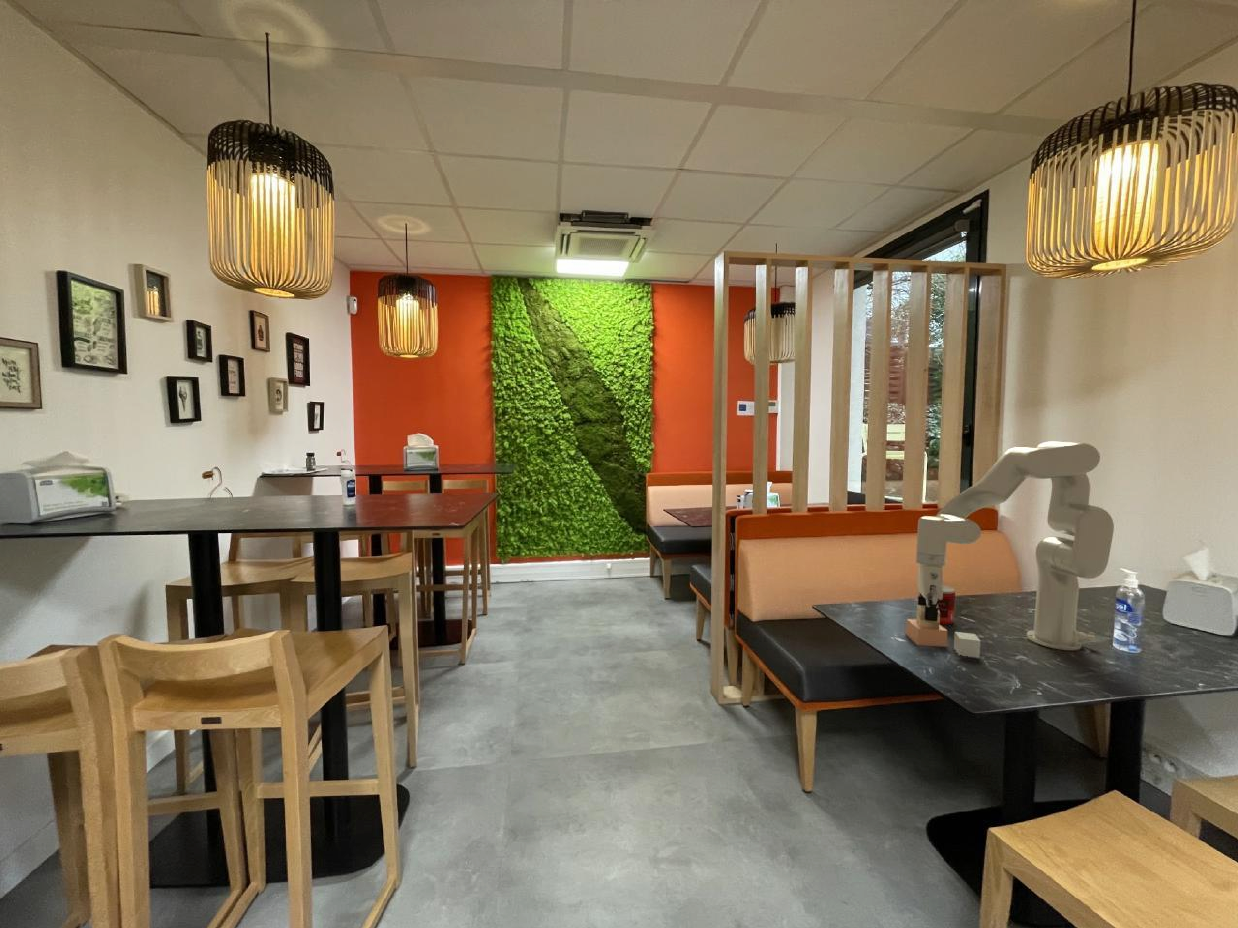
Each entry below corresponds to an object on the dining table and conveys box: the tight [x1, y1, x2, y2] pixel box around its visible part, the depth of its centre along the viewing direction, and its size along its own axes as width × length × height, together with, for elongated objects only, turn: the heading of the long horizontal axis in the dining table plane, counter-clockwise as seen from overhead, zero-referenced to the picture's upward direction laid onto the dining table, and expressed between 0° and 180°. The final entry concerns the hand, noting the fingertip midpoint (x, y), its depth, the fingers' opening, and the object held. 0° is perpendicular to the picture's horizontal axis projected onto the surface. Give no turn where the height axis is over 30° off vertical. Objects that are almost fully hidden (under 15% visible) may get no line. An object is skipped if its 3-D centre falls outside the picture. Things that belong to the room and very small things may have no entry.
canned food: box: [931, 584, 956, 625], centre depth 174 cm, size 8×8×11 cm
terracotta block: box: [905, 618, 948, 648], centre depth 158 cm, size 8×8×5 cm
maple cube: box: [916, 604, 941, 629], centre depth 157 cm, size 5×5×5 cm
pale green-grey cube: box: [953, 631, 981, 659], centre depth 149 cm, size 5×5×5 cm
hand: (927, 614), depth 158 cm, fingers open, 9 cm apart
